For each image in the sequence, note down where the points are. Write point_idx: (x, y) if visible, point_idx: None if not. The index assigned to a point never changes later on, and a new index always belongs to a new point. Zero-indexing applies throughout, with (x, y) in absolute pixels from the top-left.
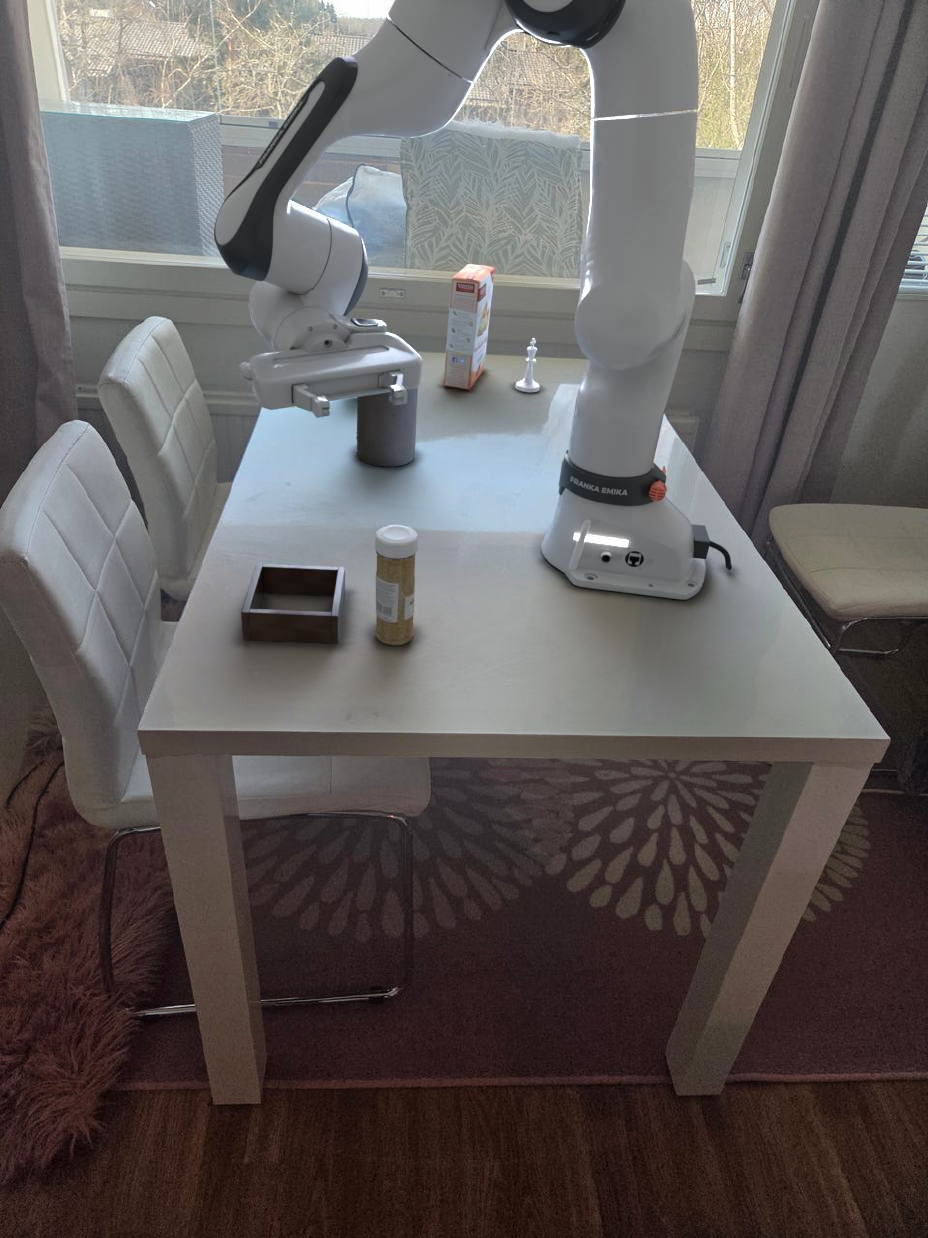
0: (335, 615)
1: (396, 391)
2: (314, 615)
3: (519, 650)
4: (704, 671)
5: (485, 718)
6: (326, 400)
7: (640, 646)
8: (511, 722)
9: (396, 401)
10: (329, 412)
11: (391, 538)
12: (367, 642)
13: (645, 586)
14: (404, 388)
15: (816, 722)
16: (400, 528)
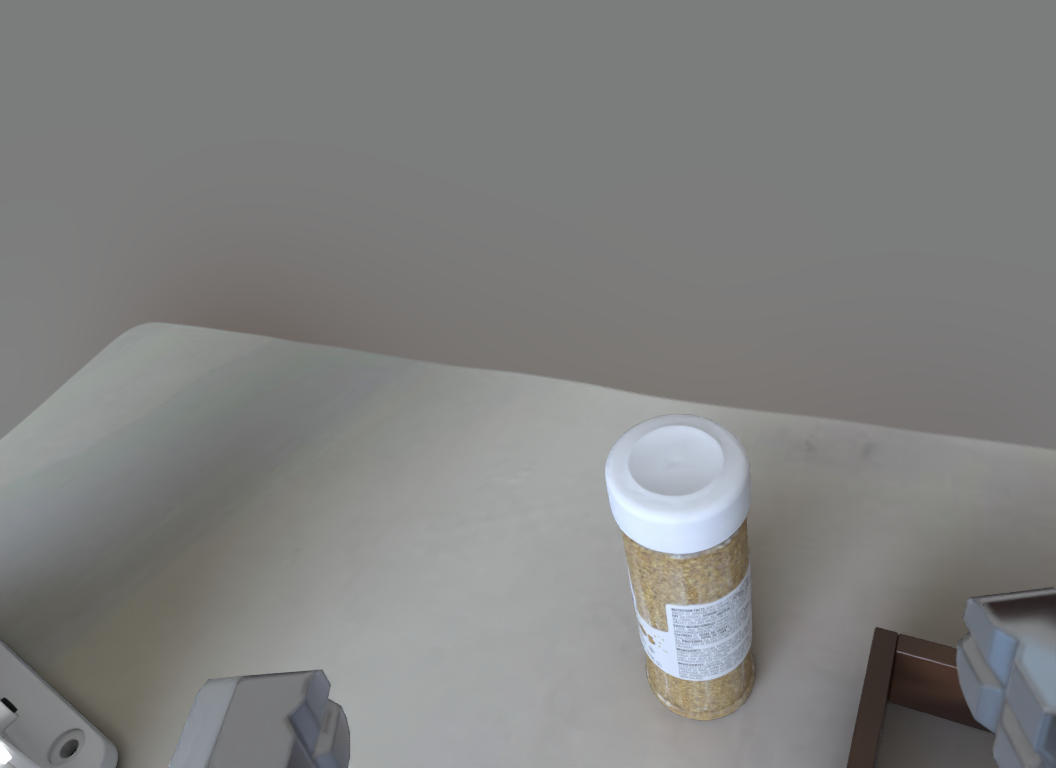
0: (883, 630)
1: (297, 678)
2: (952, 648)
3: (437, 554)
4: (188, 442)
5: (609, 409)
6: (1008, 618)
7: (214, 516)
8: (571, 396)
9: (334, 709)
10: (962, 647)
11: (702, 438)
12: (782, 665)
13: (7, 666)
14: (202, 703)
15: (171, 342)
16: (650, 486)
